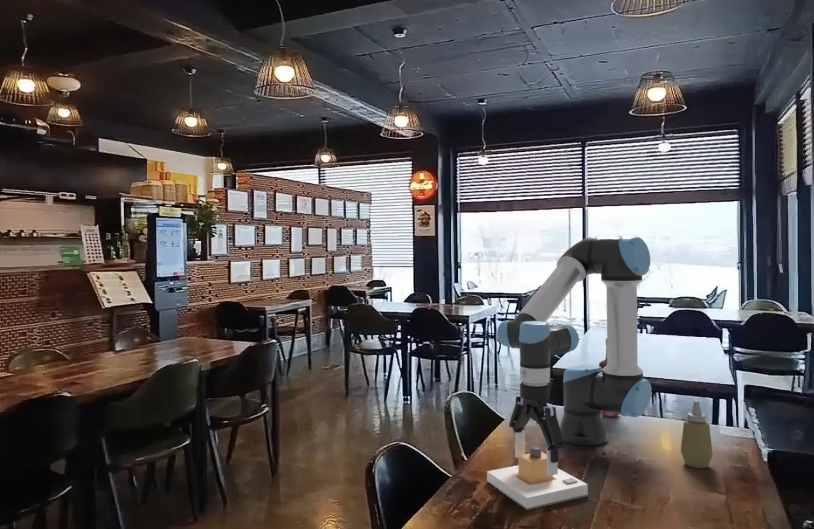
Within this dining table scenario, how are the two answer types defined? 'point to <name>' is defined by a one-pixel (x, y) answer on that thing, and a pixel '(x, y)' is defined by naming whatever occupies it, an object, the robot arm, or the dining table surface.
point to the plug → (533, 467)
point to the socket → (537, 488)
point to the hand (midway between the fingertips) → (535, 465)
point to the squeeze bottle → (696, 439)
